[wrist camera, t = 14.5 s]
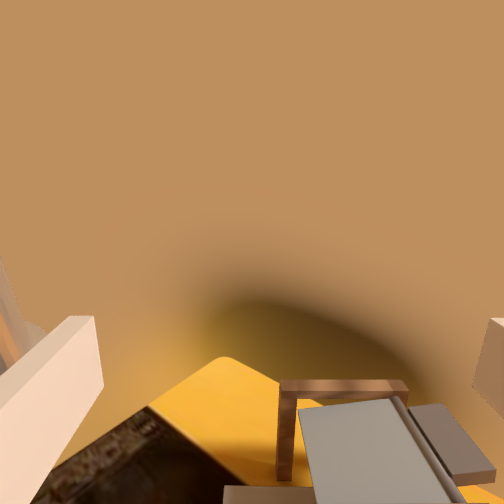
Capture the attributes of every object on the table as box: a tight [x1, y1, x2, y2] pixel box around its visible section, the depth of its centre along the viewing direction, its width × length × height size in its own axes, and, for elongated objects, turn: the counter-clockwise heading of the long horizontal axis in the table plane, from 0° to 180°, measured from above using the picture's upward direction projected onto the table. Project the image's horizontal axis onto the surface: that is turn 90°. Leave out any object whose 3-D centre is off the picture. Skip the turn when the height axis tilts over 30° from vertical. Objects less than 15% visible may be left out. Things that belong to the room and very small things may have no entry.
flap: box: [298, 396, 496, 504], centre depth 32 cm, size 17×12×2 cm
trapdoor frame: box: [276, 380, 489, 504], centre depth 34 cm, size 16×17×15 cm
